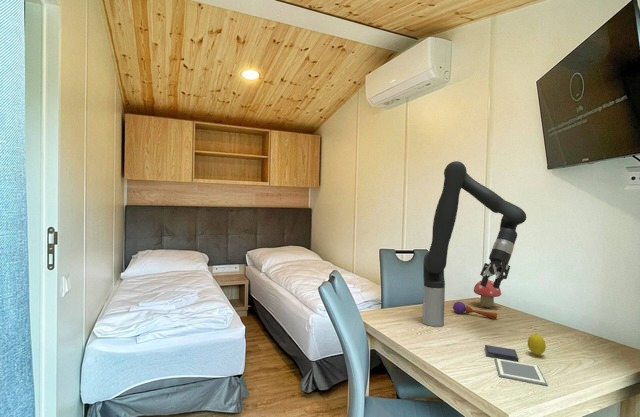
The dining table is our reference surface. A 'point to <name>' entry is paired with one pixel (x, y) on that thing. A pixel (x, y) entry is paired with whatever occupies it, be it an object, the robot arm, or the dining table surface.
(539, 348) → the lemon
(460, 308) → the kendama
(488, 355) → the ink pad
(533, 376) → the marked board
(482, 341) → the dining table surface
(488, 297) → the decorative mushroom
